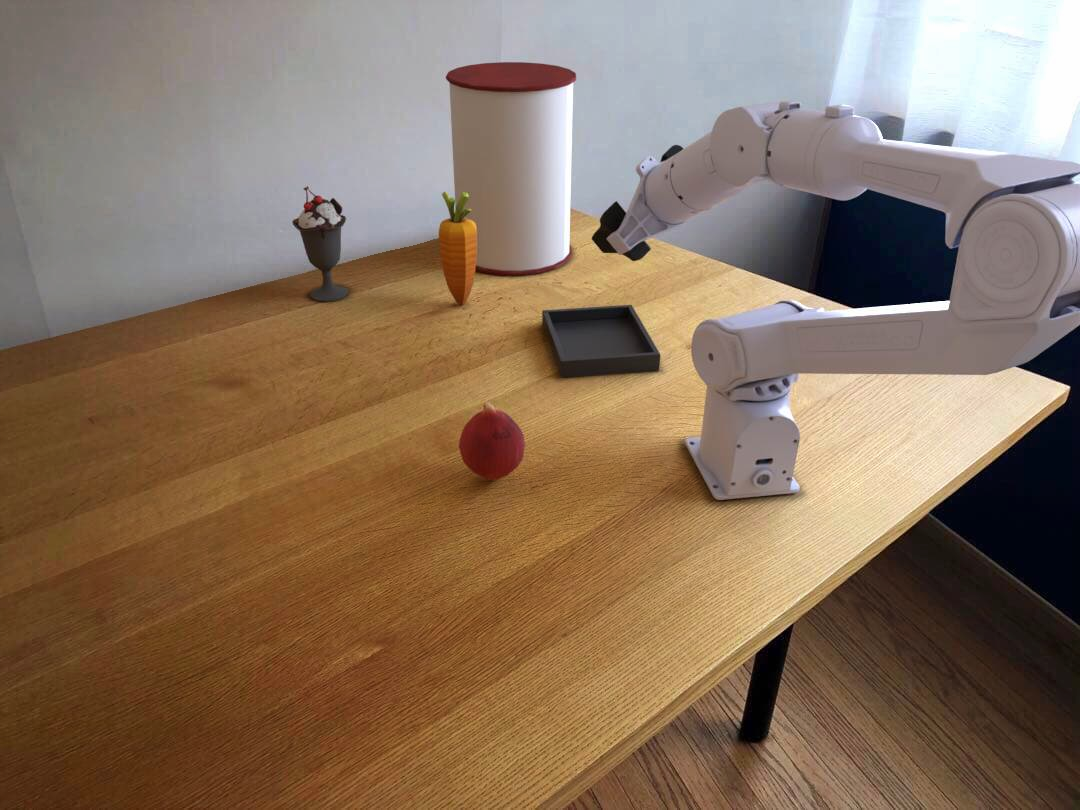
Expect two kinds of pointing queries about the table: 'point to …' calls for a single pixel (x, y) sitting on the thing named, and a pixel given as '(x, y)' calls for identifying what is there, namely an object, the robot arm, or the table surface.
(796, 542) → the table surface
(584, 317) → the tray
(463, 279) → the carrot
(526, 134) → the container
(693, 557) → the table surface
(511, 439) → the onion
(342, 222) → the sundae
